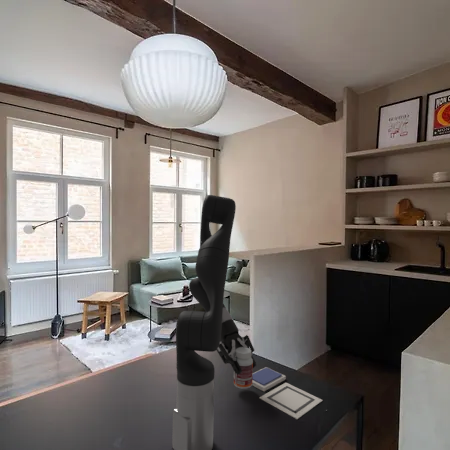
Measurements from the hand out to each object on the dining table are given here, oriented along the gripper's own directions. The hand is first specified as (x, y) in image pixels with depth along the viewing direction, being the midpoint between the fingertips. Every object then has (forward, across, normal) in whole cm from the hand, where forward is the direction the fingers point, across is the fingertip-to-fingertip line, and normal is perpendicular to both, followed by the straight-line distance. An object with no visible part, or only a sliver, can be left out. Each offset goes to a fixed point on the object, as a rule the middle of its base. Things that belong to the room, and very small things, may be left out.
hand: (247, 370), depth 100 cm
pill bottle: (+3, 0, +5) cm, 6 cm away
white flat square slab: (+13, +8, -3) cm, 16 cm away
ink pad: (+4, +11, +6) cm, 14 cm away
